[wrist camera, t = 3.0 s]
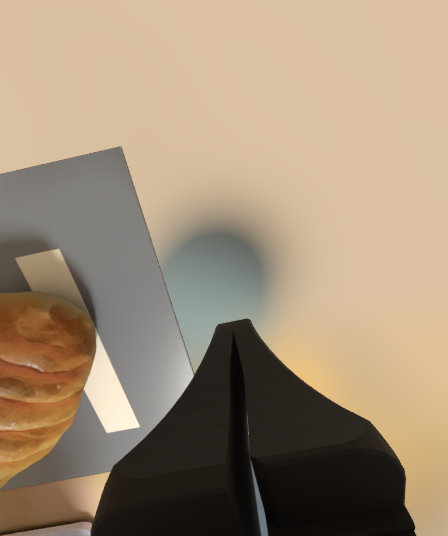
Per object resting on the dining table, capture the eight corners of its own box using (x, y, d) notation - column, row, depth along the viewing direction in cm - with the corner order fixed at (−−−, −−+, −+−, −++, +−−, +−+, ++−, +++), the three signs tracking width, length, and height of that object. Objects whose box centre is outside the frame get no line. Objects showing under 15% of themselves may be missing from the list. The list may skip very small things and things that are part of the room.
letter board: (218, 449, 17) (218, 453, 16) (-49, 496, 17) (-53, 500, 17) (121, 146, 10) (119, 146, 10) (-289, 241, 11) (-300, 242, 11)
